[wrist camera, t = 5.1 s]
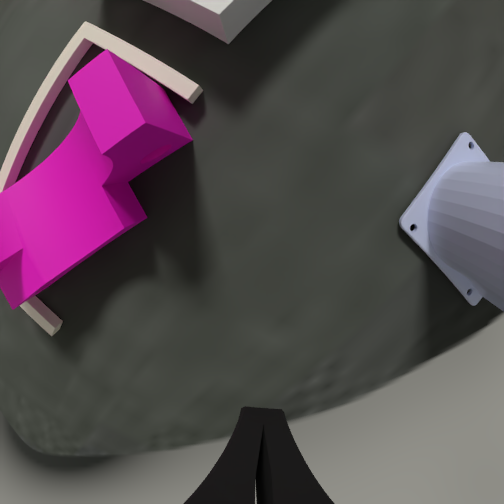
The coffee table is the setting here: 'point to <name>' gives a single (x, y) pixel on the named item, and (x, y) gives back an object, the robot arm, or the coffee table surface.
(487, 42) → the coffee table surface
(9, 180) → the frame
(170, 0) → the dome housing
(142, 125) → the toy block
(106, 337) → the coffee table surface
